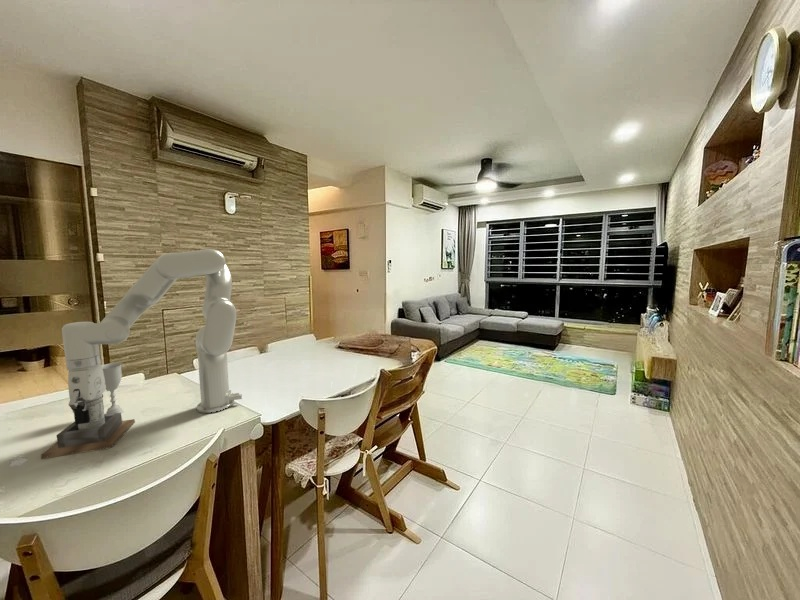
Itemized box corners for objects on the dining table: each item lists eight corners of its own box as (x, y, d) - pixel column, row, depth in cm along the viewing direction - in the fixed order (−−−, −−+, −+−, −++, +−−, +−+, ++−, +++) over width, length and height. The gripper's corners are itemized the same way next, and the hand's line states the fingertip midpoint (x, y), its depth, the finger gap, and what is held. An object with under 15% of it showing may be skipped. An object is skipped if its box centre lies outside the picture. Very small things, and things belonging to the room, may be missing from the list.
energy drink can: (99, 428, 104) (94, 384, 102) (110, 431, 102) (105, 387, 100) (75, 437, 99) (69, 391, 97) (86, 441, 96) (80, 395, 94)
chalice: (111, 418, 113) (105, 369, 111) (96, 416, 115) (90, 368, 112) (132, 409, 120) (127, 363, 118) (117, 407, 122) (112, 362, 120)
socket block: (134, 422, 111) (133, 408, 110) (111, 447, 96) (110, 431, 95) (75, 430, 105) (73, 415, 104) (41, 458, 90) (38, 441, 90)
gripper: (82, 370, 91) (89, 428, 93) (113, 353, 107) (118, 403, 109) (48, 373, 88) (56, 433, 90) (84, 355, 104) (90, 407, 106)
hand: (90, 416), depth 100 cm, fingers open, 7 cm apart
